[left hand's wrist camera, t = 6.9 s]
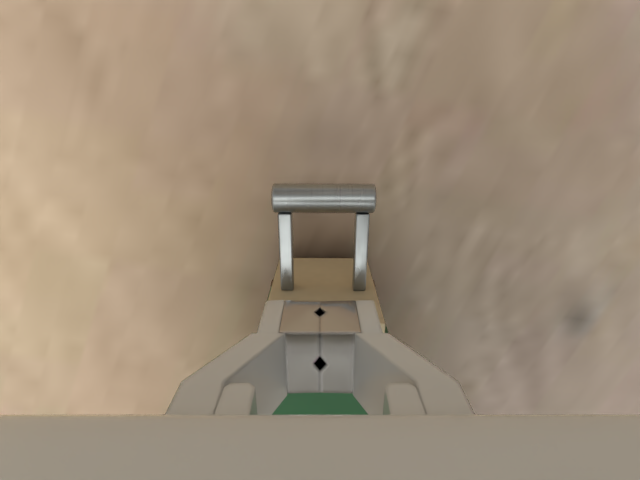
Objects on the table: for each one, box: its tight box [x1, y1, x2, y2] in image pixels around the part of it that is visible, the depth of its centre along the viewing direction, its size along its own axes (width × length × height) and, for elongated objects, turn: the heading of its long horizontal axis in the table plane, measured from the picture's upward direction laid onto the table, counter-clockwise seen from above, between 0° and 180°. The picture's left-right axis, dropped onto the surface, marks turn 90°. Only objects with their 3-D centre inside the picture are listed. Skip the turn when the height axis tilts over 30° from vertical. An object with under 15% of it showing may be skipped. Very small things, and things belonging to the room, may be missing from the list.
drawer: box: [268, 184, 385, 333], centre depth 20 cm, size 22×5×6 cm, turn 0°
